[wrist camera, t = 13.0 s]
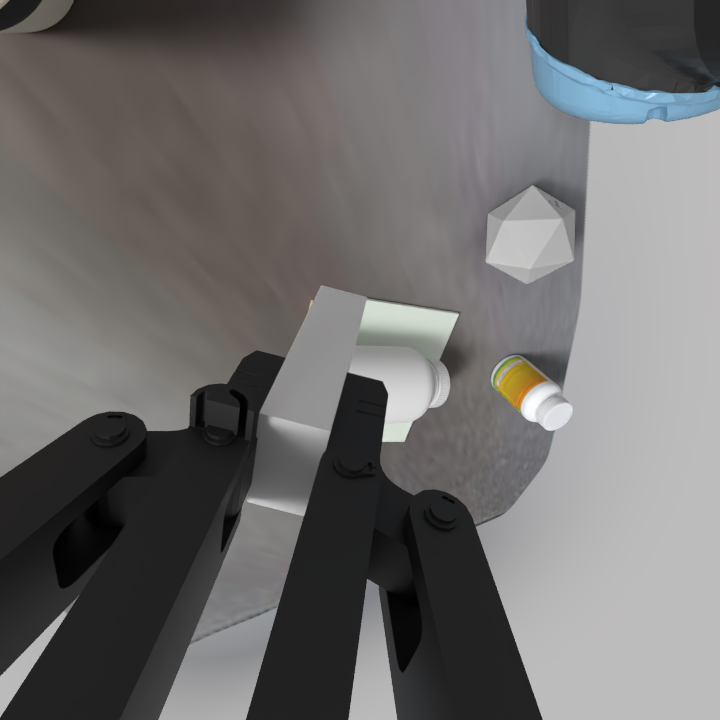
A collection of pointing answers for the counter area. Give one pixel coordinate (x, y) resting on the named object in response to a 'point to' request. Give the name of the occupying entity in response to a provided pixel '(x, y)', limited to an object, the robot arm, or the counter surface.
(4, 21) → the travel mug
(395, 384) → the pill bottle
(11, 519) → the robot arm
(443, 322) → the mat
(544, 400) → the supplement bottle
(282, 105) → the counter surface
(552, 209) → the die
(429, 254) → the counter surface
